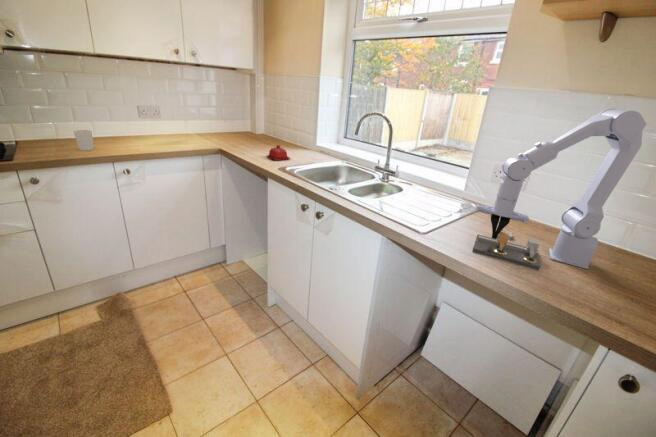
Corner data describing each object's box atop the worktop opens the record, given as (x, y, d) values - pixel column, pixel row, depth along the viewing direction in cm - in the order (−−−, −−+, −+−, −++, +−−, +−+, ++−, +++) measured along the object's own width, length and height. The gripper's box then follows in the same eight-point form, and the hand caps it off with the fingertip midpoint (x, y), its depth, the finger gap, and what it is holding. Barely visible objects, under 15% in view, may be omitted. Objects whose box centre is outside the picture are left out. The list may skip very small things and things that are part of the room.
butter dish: (281, 156, 198) (281, 142, 195) (291, 160, 191) (291, 146, 187) (265, 157, 191) (264, 143, 188) (274, 162, 184) (275, 147, 180)
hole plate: (536, 253, 100) (542, 238, 98) (538, 270, 90) (545, 254, 88) (476, 237, 108) (480, 223, 106) (472, 251, 98) (476, 235, 96)
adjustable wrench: (489, 215, 131) (490, 211, 130) (506, 218, 129) (507, 214, 128) (492, 238, 109) (493, 233, 109) (513, 242, 107) (514, 238, 106)
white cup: (93, 150, 174) (89, 132, 170) (75, 150, 171) (71, 132, 167) (96, 147, 181) (93, 130, 177) (80, 147, 178) (76, 129, 174)
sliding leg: (505, 242, 102) (509, 232, 100) (504, 252, 96) (508, 241, 94) (497, 240, 103) (500, 230, 101) (495, 249, 97) (499, 238, 95)
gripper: (533, 199, 96) (519, 239, 101) (482, 189, 102) (471, 227, 108) (534, 206, 90) (519, 247, 96) (480, 194, 96) (468, 234, 102)
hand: (494, 237), depth 101 cm, fingers closed
